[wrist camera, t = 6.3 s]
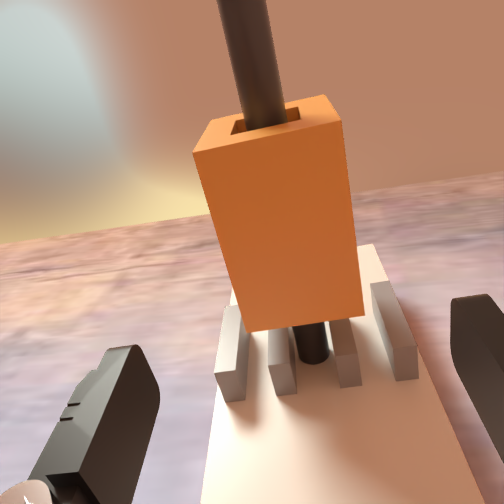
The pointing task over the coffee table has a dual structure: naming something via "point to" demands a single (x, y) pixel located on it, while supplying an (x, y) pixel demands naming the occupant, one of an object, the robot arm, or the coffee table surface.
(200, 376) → the coffee table surface
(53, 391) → the coffee table surface
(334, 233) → the sleeve
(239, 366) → the stand
